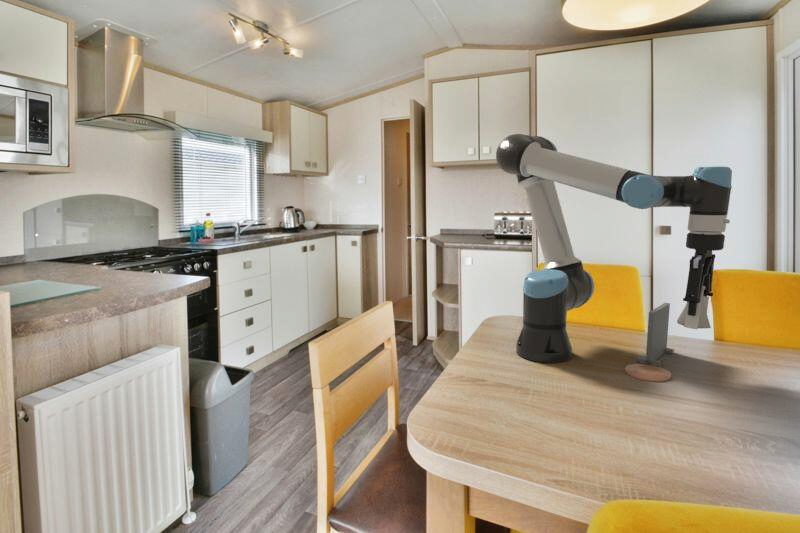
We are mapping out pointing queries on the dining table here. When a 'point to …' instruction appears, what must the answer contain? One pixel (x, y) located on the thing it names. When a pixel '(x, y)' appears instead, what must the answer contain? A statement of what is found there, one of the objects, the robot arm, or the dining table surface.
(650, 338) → the screen
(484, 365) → the dining table surface
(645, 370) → the coaster
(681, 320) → the flask
